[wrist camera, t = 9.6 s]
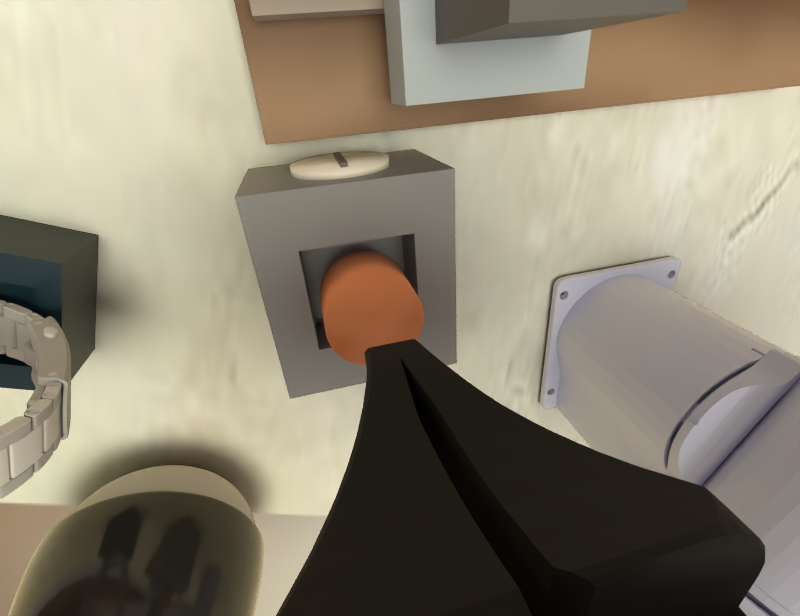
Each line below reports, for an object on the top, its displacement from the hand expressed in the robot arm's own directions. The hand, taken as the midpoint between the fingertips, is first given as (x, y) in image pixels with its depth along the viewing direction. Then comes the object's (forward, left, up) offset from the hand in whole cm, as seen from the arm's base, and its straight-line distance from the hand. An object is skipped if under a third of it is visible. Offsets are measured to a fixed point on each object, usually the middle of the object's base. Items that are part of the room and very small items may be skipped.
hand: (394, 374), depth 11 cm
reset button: (0, 0, -5) cm, 5 cm away
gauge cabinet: (0, 0, -10) cm, 10 cm away
